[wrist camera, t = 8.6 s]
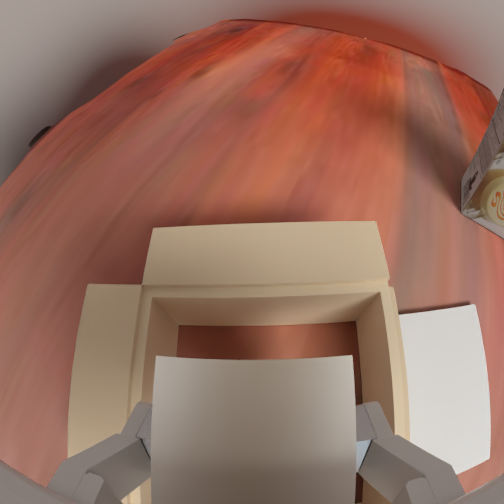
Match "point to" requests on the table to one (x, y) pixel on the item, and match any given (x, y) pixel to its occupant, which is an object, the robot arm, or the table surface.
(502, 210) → the coffee box
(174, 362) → the steel-based block
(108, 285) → the kraft carton
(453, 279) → the table surface
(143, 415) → the robot arm
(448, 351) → the white rectangular pad
